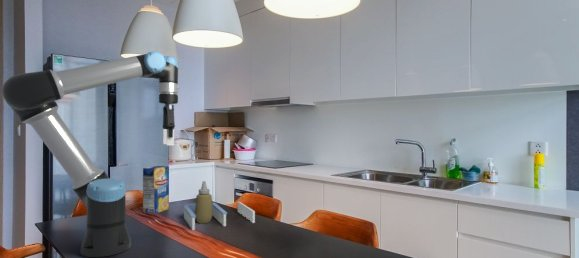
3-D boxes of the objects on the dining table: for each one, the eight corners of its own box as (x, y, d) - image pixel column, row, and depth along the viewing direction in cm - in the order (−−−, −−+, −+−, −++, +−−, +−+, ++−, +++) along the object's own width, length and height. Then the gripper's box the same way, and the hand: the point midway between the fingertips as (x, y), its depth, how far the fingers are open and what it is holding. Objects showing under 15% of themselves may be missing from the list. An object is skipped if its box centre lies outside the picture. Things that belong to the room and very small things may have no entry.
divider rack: (254, 222, 151) (254, 209, 151) (191, 230, 139) (191, 215, 139) (239, 211, 172) (239, 199, 172) (182, 217, 160) (182, 204, 160)
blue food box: (142, 212, 168) (142, 168, 168) (157, 207, 179) (158, 165, 179) (154, 213, 166) (154, 168, 166) (168, 208, 177) (169, 166, 177)
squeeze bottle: (208, 224, 148) (209, 183, 147) (191, 223, 149) (191, 182, 149) (215, 219, 155) (216, 180, 155) (199, 218, 157) (199, 179, 157)
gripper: (182, 91, 133) (182, 145, 133) (173, 96, 156) (173, 143, 156) (161, 90, 130) (161, 146, 130) (156, 96, 152) (156, 143, 152)
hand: (168, 144), depth 143 cm, fingers open, 13 cm apart
